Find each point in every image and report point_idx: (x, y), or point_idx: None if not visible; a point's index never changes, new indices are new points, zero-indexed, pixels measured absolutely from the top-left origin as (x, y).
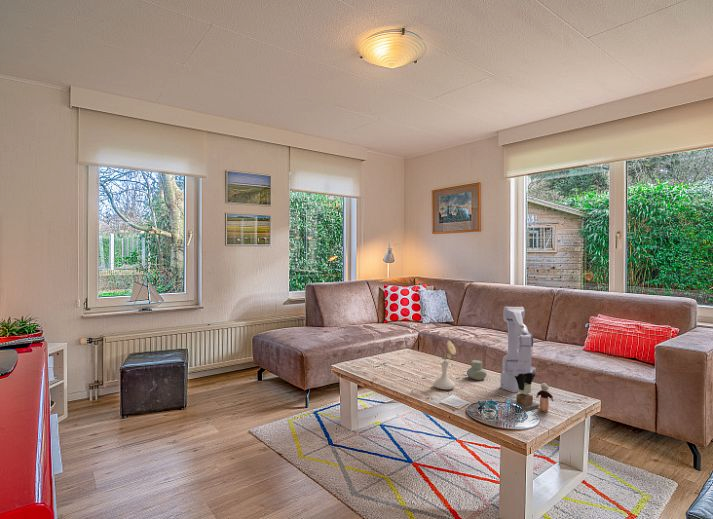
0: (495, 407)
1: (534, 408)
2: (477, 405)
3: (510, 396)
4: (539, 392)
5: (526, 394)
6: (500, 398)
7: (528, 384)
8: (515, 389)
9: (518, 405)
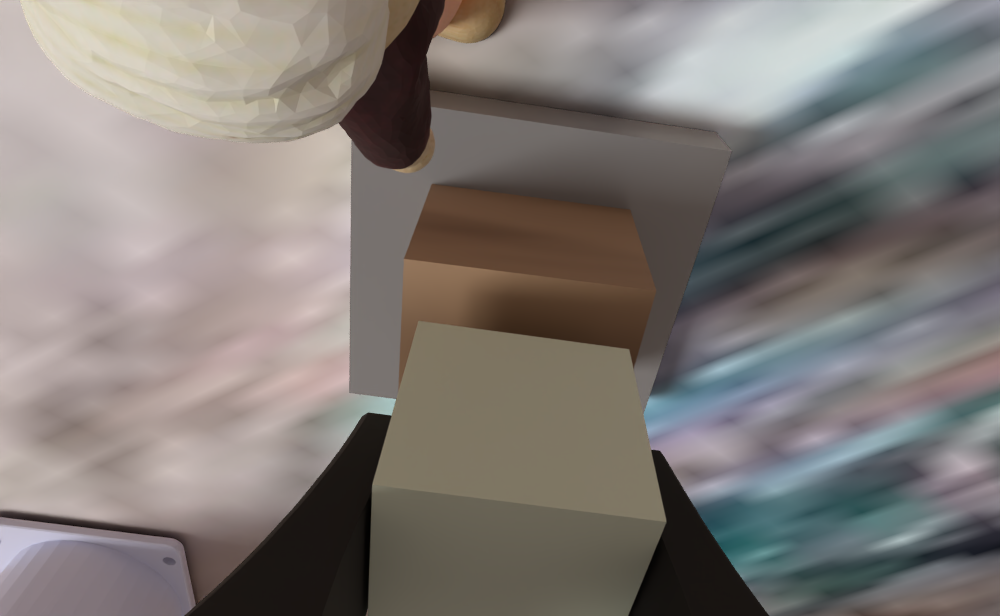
0: (859, 459)
1: (492, 100)
2: (926, 582)
3: None
4: (416, 97)
5: None
6: None
7: (450, 517)
8: (117, 567)
9: (678, 298)
